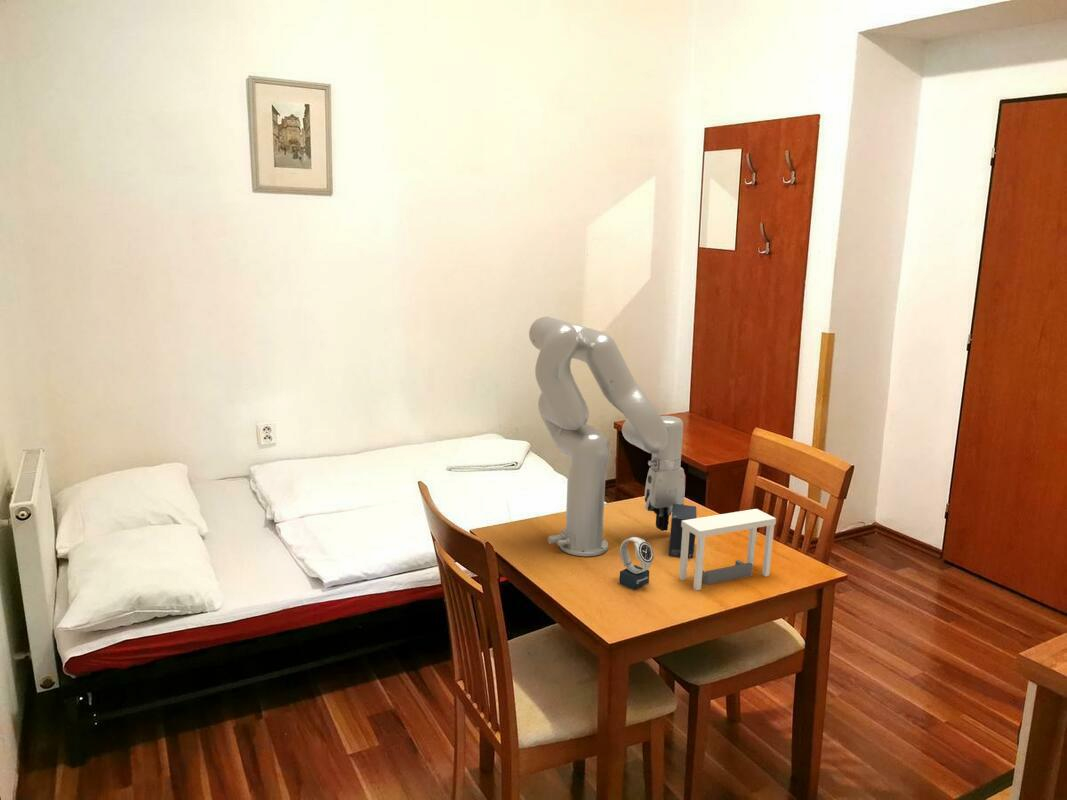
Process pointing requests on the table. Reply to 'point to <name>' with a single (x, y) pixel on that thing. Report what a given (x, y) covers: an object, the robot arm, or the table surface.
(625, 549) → the watch
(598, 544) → the robot arm
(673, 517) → the small box
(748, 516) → the overhang shelf
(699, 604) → the table surface
